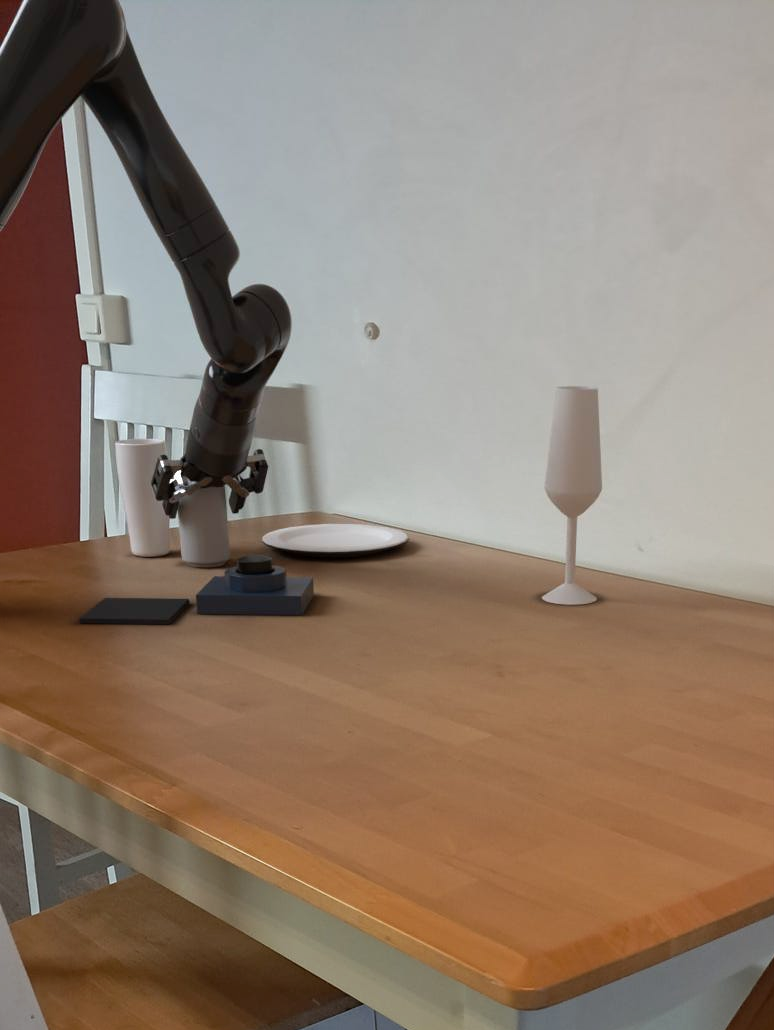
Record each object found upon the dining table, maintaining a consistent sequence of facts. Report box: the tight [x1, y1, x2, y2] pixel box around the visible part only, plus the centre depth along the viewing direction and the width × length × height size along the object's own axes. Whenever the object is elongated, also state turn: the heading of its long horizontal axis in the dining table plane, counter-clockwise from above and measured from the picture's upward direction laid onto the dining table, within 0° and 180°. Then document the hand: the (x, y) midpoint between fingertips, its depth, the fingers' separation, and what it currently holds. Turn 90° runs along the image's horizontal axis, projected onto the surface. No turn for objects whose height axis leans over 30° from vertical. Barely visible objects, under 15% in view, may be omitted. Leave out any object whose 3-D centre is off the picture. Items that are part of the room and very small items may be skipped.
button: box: [236, 555, 273, 575], centre depth 148 cm, size 4×4×2 cm
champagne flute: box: [541, 385, 603, 606], centre depth 149 cm, size 7×7×24 cm
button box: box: [195, 564, 315, 616], centre depth 149 cm, size 12×10×4 cm
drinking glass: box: [114, 438, 171, 558], centre depth 174 cm, size 7×7×15 cm
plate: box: [261, 523, 410, 559], centre depth 181 cm, size 21×21×2 cm
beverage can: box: [175, 478, 231, 568], centre depth 169 cm, size 6×6×12 cm
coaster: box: [78, 597, 190, 625], centre depth 146 cm, size 10×10×1 cm
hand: (201, 510), depth 169 cm, fingers open, 8 cm apart
